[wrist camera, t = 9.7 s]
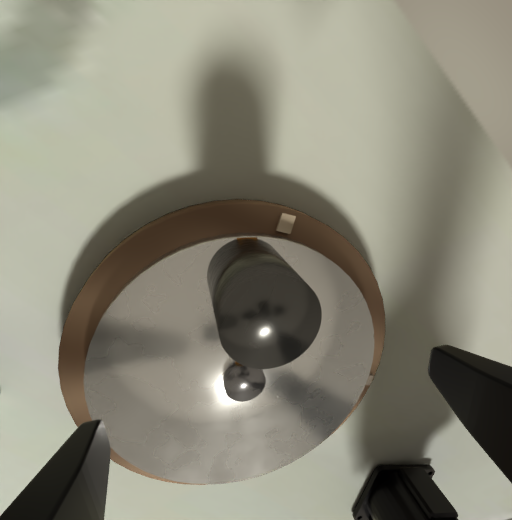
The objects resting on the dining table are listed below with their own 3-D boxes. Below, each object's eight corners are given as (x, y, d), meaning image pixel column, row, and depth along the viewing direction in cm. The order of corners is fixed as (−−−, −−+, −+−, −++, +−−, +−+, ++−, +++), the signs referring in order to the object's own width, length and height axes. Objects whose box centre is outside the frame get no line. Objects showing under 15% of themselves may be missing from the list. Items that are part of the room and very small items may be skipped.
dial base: (318, 465, 27) (327, 485, 25) (49, 464, 21) (39, 490, 19) (416, 241, 21) (435, 248, 20) (93, 153, 15) (83, 154, 14)
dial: (348, 445, 24) (398, 534, 19) (108, 492, 20) (82, 619, 15) (385, 228, 19) (472, 263, 13) (64, 237, 15) (-4, 290, 9)
